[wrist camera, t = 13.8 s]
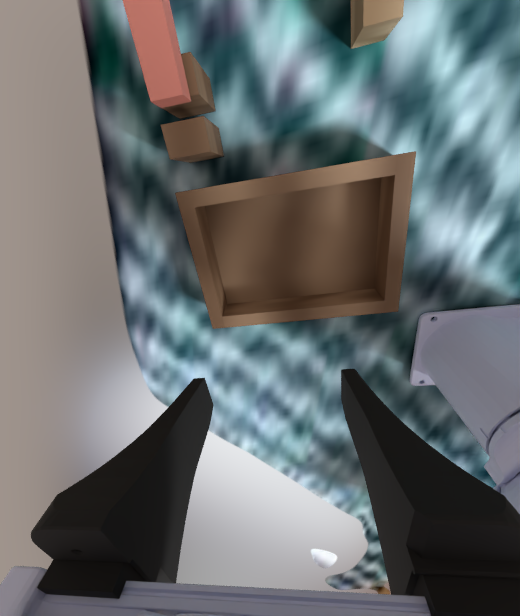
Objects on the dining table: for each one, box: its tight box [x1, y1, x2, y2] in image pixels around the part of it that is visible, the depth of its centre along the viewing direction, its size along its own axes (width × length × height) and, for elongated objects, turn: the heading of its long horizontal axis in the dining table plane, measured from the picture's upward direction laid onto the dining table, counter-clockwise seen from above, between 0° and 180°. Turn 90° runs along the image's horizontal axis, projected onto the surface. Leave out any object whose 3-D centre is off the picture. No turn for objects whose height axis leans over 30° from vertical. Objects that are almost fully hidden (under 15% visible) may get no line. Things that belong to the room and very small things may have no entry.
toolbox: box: [161, 52, 416, 329], centre depth 17 cm, size 14×16×4 cm
